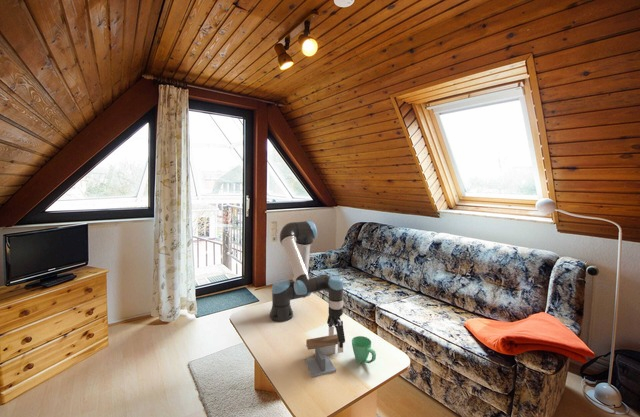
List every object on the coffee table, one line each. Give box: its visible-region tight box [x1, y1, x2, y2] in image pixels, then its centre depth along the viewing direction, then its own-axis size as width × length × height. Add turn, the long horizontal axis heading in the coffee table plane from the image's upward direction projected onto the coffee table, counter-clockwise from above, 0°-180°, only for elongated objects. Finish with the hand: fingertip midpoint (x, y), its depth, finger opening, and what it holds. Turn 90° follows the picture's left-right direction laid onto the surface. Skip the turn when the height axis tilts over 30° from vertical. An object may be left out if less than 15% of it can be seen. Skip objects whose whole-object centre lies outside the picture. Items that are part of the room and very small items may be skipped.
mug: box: [351, 335, 377, 364], centre depth 143 cm, size 15×10×10 cm
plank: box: [305, 333, 346, 351], centre depth 150 cm, size 4×20×4 cm, turn 108°
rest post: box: [320, 344, 337, 356], centre depth 151 cm, size 2×10×5 cm, turn 108°
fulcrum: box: [304, 347, 337, 378], centre depth 140 cm, size 12×12×7 cm
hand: (335, 345), depth 152 cm, fingers open, 13 cm apart
